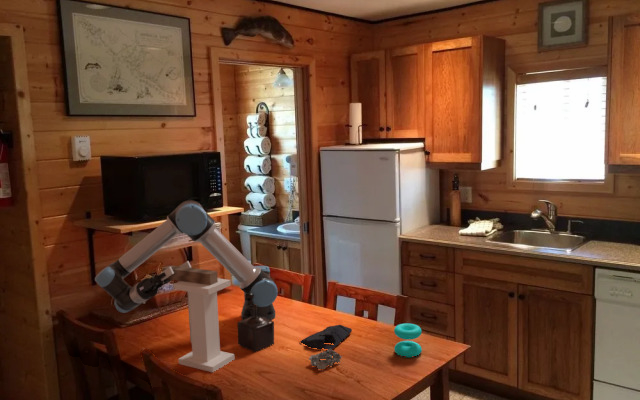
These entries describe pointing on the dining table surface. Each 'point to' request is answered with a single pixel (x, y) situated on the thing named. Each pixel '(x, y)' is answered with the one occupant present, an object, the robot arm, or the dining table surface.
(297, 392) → the dining table surface
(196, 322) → the pedestal stand
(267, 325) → the pepper mill
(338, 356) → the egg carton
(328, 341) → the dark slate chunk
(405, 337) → the donuts
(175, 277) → the walnut bar
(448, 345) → the dining table surface
